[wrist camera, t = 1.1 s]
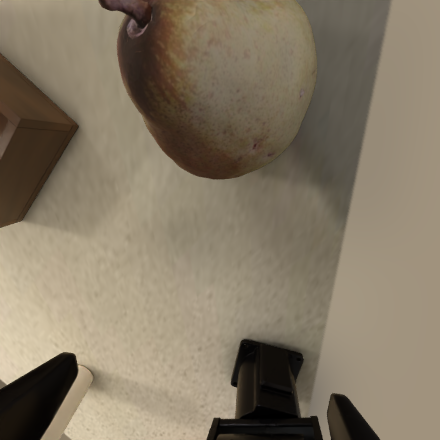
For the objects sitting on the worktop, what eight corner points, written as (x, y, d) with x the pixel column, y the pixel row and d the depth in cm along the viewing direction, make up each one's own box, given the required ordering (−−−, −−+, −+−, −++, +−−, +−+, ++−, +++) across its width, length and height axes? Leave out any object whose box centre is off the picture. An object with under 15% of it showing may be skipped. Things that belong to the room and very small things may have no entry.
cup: (92, 396, 31) (-3, 542, 19) (57, 376, 30) (-60, 512, 19) (106, 373, 29) (10, 519, 17) (69, 351, 29) (-53, 486, 17)
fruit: (171, 25, 16) (-10, -239, 5) (307, 17, 15) (457, -355, 4) (177, 170, 20) (73, 201, 8) (290, 173, 18) (348, 215, 7)
